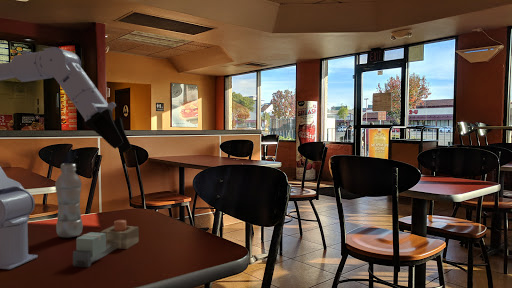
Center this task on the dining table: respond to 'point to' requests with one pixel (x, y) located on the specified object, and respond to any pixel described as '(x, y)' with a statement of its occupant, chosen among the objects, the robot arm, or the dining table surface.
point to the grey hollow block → (122, 236)
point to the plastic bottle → (68, 202)
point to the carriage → (92, 243)
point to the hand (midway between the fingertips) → (123, 148)
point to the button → (120, 225)
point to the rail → (85, 256)
